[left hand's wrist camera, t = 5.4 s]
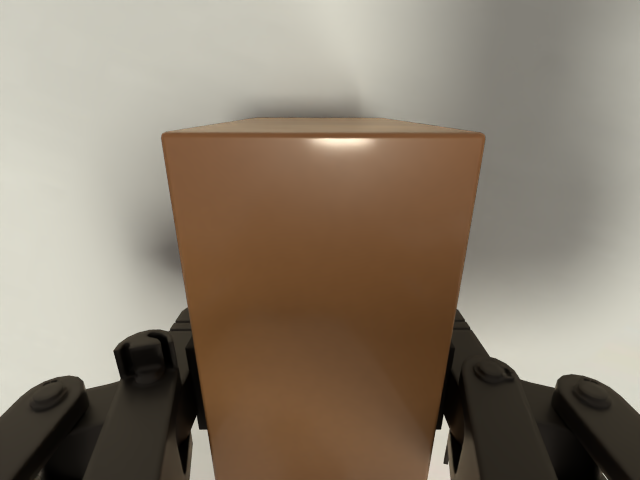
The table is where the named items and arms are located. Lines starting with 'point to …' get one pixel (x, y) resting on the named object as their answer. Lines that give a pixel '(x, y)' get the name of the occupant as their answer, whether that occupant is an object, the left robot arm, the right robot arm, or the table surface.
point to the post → (322, 288)
